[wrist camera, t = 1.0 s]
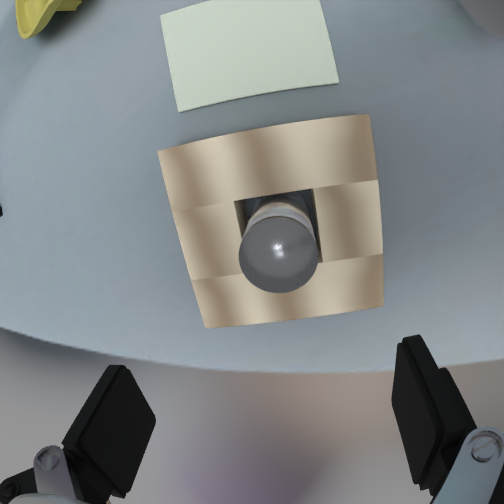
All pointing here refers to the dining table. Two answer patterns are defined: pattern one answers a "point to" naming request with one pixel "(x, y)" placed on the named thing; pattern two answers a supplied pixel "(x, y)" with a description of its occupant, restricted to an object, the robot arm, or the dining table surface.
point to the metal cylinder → (279, 244)
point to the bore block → (274, 182)
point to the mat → (246, 49)
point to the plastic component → (39, 14)
